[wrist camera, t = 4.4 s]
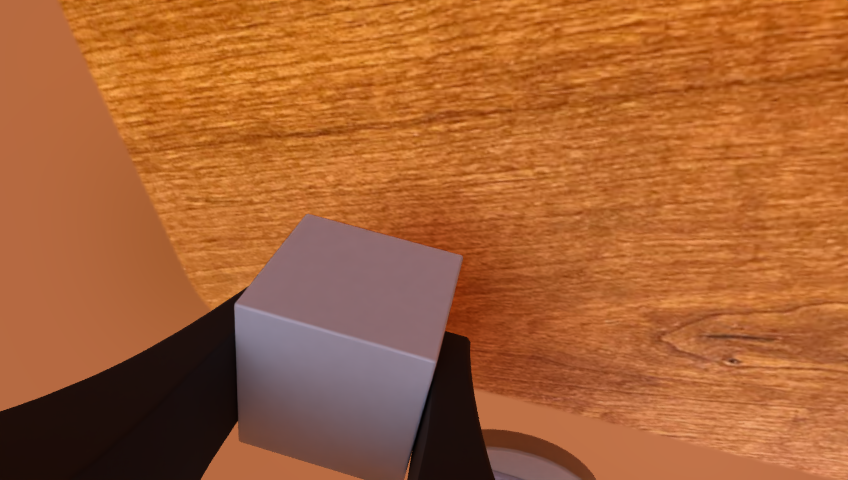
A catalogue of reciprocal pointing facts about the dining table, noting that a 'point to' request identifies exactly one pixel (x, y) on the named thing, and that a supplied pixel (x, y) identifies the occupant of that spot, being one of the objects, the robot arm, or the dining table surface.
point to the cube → (342, 347)
